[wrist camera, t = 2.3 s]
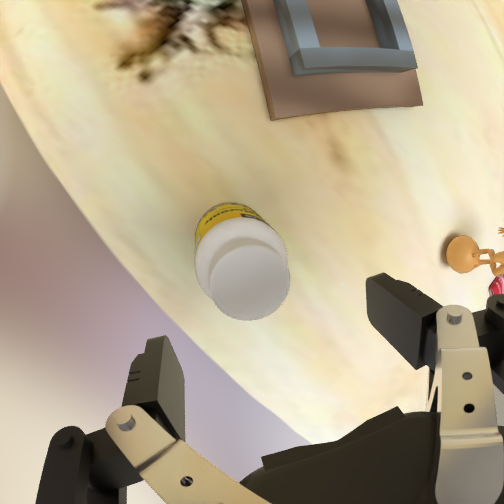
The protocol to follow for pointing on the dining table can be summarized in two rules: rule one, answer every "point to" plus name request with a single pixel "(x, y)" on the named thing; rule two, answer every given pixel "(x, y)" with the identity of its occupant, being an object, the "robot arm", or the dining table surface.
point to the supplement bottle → (241, 262)
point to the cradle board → (332, 55)
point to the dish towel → (497, 285)
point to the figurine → (472, 256)
